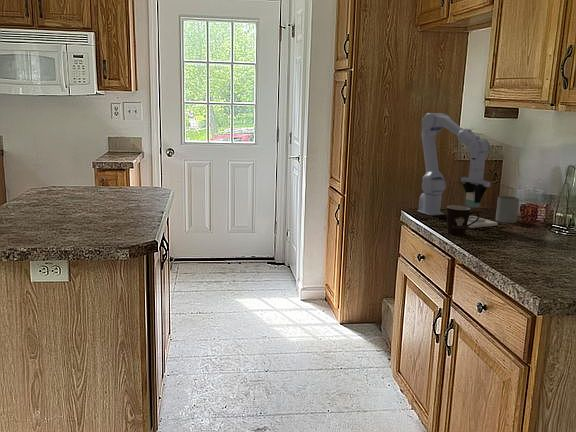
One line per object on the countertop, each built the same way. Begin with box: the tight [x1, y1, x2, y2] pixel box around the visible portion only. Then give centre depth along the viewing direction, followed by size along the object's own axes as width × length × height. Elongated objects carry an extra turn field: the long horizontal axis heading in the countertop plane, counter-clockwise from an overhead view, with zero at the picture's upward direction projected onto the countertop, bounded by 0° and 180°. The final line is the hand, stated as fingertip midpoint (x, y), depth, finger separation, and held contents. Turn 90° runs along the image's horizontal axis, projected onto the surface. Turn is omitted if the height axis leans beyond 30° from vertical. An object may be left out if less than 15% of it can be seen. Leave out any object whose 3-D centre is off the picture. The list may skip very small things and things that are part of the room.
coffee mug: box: [446, 205, 480, 237], centre depth 213 cm, size 12×9×10 cm
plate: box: [467, 215, 498, 229], centre depth 234 cm, size 14×14×2 cm
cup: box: [495, 195, 520, 224], centre depth 240 cm, size 8×8×10 cm
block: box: [464, 191, 481, 208], centre depth 232 cm, size 4×4×6 cm
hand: (473, 201), depth 232 cm, fingers closed on block, 4 cm apart
